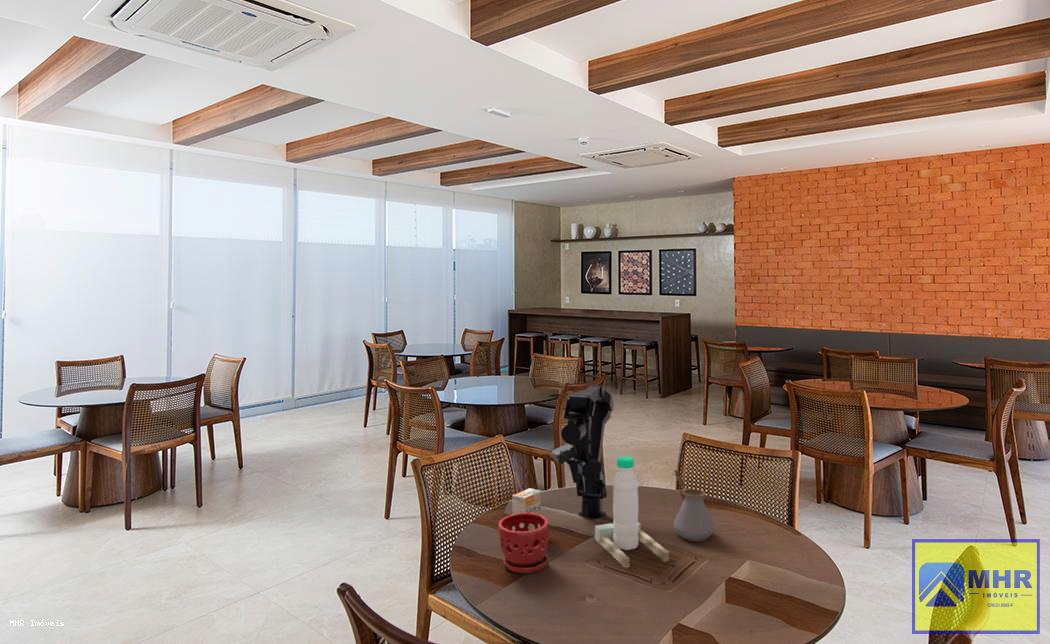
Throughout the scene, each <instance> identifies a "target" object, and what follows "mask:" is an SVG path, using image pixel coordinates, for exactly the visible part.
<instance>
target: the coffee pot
mask: <svg viewBox="0 0 1050 644" xmlns="http://www.w3.org/2000/svg"><path fill="white" fill-rule="evenodd" d="M673 472H674V474H673ZM671 475H672V476H674V475H675V477H676V478H677V481H678V483H679V485H680V487H681V488H682V489H683V490H682V495H684V496H683V497H684V499H683V501H682V504H681V505H680V508H679V510H678V513H677V515H676V517H675V518H674V522H673V528H674V530H675V532H676V533H677V534H678V535H679V536H680V537H681V538H682V539H684V540H687V541H690V542H702V541H705V540H707V539H708V538H710V537H711V536H712V534H713V533H714V531H715V525H714V523H713V520H712V519H711V516H710V514H709V511H708V509H707V506H706V504H705V501H704V497H705V496H706V493H707V492H706V491H704V490H702V489H698V488H697V489H696V488H688V489H687V488H686V485H685V483H684V480H683V478H681V475H680V472H679V471H678V470H676V469H674V470H672V472H671Z"/></svg>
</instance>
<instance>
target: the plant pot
mask: <svg viewBox="0 0 1050 644" xmlns="http://www.w3.org/2000/svg"><path fill="white" fill-rule="evenodd" d="M521 523H523V524H524V527H522V528H521V527H520V526H519V525H520V524H521ZM529 524H533V525H534V527H535V530H531V531H530V530H529V529H528V525H529ZM538 524H540V526H541V527H540V528H539V527H538ZM513 526H514V527H515V530H514V531H513ZM549 536H550V526H549V521H548V518H547V517H545V516H544V515H542V514H541V515H539V514H535V513H518V514H513V513H512V514H510V515H507V516H505V517H503V518H501V519H500V521H498V538H499V544H500V548H501V551H502V554H503V555H504V557H503V564H504V566H505V567H506V569H508V570H510V571H512V572H514V573H518V574H530V573H531V574H532V573H534V572H538V571H540V570H542V569H543V568H544V567H545V566H546V565H547V563H548V560H549V558H548V557H549V556H548V555H547V550H548V545H549V538H550V537H549Z"/></svg>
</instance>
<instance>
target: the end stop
mask: <svg viewBox="0 0 1050 644" xmlns="http://www.w3.org/2000/svg"><path fill="white" fill-rule="evenodd" d="M641 527H642V526H641V523H640V522H639V521H638V529H641ZM641 530H642V529H641ZM602 534H604V535H605V536H606V537H608V538H609V539H610V540H611V541H613V534H614V530H613V523H605V524H598V525H594V540H595V541H596V542H597V543H598V544H599V535H602Z"/></svg>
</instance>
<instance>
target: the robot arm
mask: <svg viewBox="0 0 1050 644" xmlns="http://www.w3.org/2000/svg"><path fill="white" fill-rule="evenodd" d="M614 407H615V405H614V400H613V395H612V394H611V393H609V392H608V391H607V390H606V389H605V386H604V385H603V386H602V385H600V384H589V385H587V388H585V389H584V390H582V391H581V392H578V393H577V392H574V393H570V394H569V396H568V397H567V399H566V403H565V409H564V414H563V419H565V420H567V424H565V425H564V426H563V428H561V434H560V435H561V439H562V441H564V442H565V443H566V444H564V445H561V446H559V447H557V448H554V449H553V450H552V451H551V453H552V457H553V459H554V462H556V463H557V464H558V465H563V464H564V463H566V464H567V465H568V468H569V471H570V474H571V479H572V481H573V482H572V483H573V484H575V485H576V486H575V487H576V495H577V497H581V511H579V512H578V514H577V515H578V516H582V517H585V518H588V519H591V520H596V519H597V520H598V518H601V517H603V516H605V515H606V514H607V513H606V512H605V511H603V505H602V503H603V500H604V499H606V498H608V490H607V489H608V488H607V484H606V482H605V480H604V475H603V473H602V472H603V463H602V462H601V461H602V460H601V459H602V450H603V441H604V435H605V426H606V424H607V423H608V421H609V420H610V419H611V417H612V416H611V415H612V412H613V411H614V409H615V408H614Z"/></svg>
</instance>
